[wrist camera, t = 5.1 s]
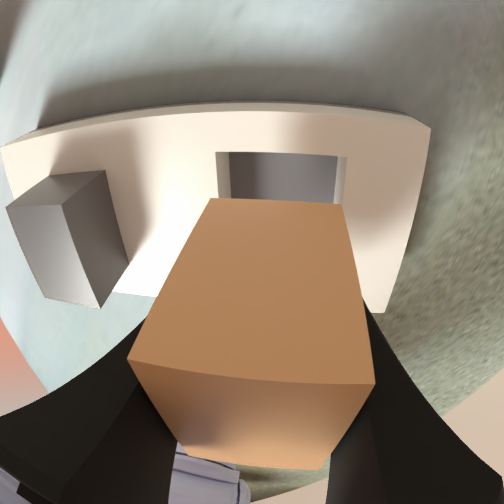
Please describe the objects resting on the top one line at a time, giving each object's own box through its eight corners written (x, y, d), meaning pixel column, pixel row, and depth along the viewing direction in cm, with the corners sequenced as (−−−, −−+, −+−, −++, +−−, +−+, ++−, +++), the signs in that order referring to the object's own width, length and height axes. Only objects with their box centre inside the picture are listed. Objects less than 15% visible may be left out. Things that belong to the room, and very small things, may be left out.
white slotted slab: (404, 112, 13) (473, 157, 7) (374, 273, 18) (395, 364, 13) (35, 129, 15) (-42, 172, 10) (71, 252, 21) (20, 314, 15)
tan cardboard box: (320, 326, 12) (318, 469, 7) (224, 319, 13) (188, 455, 8) (341, 204, 9) (375, 383, 4) (210, 198, 9) (126, 359, 5)
